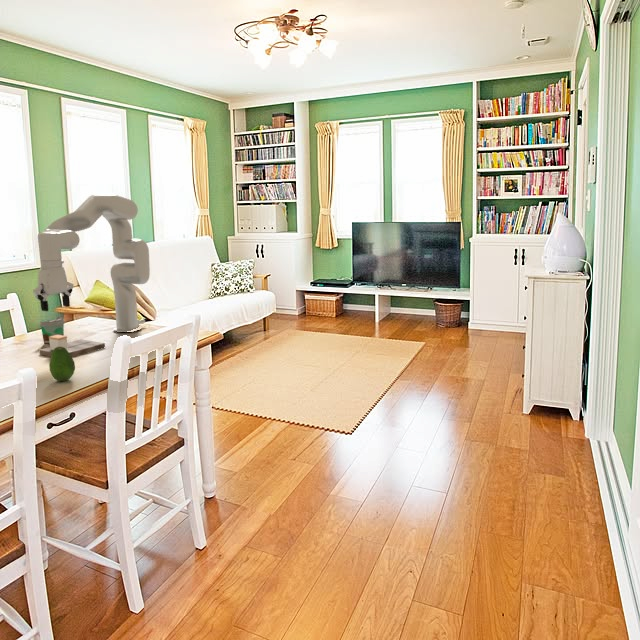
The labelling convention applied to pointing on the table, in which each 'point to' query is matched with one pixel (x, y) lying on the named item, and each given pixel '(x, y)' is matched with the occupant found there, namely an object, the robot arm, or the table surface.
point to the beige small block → (58, 341)
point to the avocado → (61, 364)
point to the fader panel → (77, 347)
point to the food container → (52, 328)
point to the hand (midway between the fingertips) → (56, 308)
